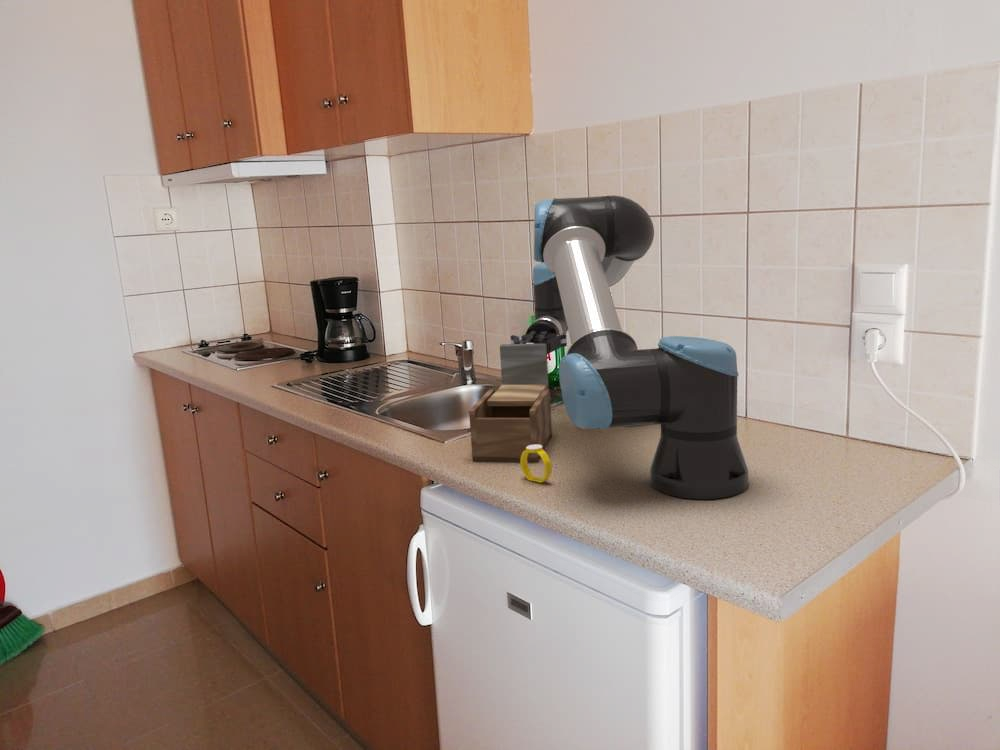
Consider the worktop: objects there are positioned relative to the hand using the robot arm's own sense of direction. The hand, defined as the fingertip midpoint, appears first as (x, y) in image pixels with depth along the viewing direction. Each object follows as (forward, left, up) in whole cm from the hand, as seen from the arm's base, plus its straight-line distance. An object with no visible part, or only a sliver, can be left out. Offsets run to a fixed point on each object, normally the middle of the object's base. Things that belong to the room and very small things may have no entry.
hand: (524, 355), depth 160 cm
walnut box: (-15, +2, -15) cm, 21 cm away
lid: (-8, +1, -7) cm, 10 cm away
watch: (-33, -3, -15) cm, 36 cm away
